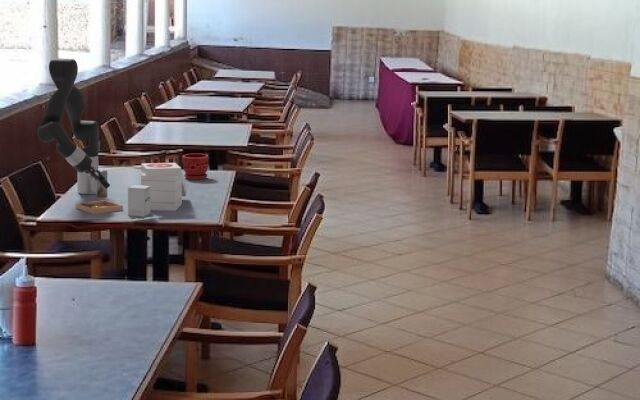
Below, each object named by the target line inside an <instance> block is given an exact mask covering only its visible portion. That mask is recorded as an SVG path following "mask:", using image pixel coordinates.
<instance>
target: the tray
mask: <svg viewBox="0 0 640 400" xmlns="http://www.w3.org/2000/svg"><path fill="white" fill-rule="evenodd" d="M90 202H91V203H94V206H101V208H96V209H93V208H90V207H87V206H84V205H81V203H82V202H79V203H78V202H77V203H75V209H76V210H81V211H83V212H85V213H89V214H92V215H95V214H102V213H103V214H104V213H110V212H111V213H112V212H118V211H123V210H124V205H123V204H120V203H116V202H114V201H110V200H105V199H103V200H96V201H90Z"/></svg>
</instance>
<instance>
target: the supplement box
mask: <svg viewBox="0 0 640 400" xmlns="http://www.w3.org/2000/svg"><path fill="white" fill-rule="evenodd" d="M150 214H151V210H150V186H143V185H141V184H139V185H138V184H134V185H132V186H129V187H127V216H130V217H139V219H141V220H142V219H145V218H148V215H150Z"/></svg>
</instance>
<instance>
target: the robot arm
mask: <svg viewBox="0 0 640 400" xmlns="http://www.w3.org/2000/svg"><path fill="white" fill-rule="evenodd" d="M78 70H79V66H78V62H77V61H76V60H75V59H74V58H59V57H58V58H52V59H50V60H49V63H48V71H49V75H50V77H51V79H52V82H53V83H54V86H55V87H56V89H57V90H56V91H55V92H54V93H53V94H52V95H51V96H50V98H49V99H48V100H47V101H48V102H47V106H46V110H45V112H44V116H43V117H42V119H41V122H40V124H39V126H38V127H37V136H38V137H37V138H38V139H39V141H41V142H42V143H50V142H52V141H54V140H55V141H56V142H57V143H56V144H55V150H56V151H57V153H59V154H60V155H61V156H62V157H63V158H64V159H65V160H66V162H67V163H68V164H69V165H71V166H72V168H74V169H75V170H76V171H77V173H76V174H77V175H76V176H77V177H76V178H77V179H76V180H77V193H78V194H79V195H80V194H81V195H93V194H95V195H96V180H97V181H99V183H101V184H102V185H103V186H104V187H105V188H107V189H108V188H109V187H110V186H111V184H110V183H109V182H108V180H107V181H106V180H105V177H103V176H102V174H101V173H100V172H99V171H98V170H99V150H100V149H99V147H100V145H99V141H100V126H99V123H98V121H96V120H82V119H80V118H81V116H82V115H83V114H84V112H85V110H86V107H87V104H86V103H87V102H86V99H85V97H84V94H83V92H82V91H81V90H80V89H79V88H78V87H77V86H76V85H75V82H76V80H77V77H78ZM65 110H66V113H67V116H68V118H69V121H70V125H71V129H72V133H73V135H74V138H75V139H76V140H77V141H81V142H89V144H88V145H87V146H84V147H82V148H80V147H79V146H77V144H75V143H74V141H72V140H71V139H70V137H69V135H68V134H67V132H66V130H65V128H64V127H63V126H62V125H61V124H60V123H61V121H62V120H63V117H64V113H65ZM100 177H101V179H100Z"/></svg>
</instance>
